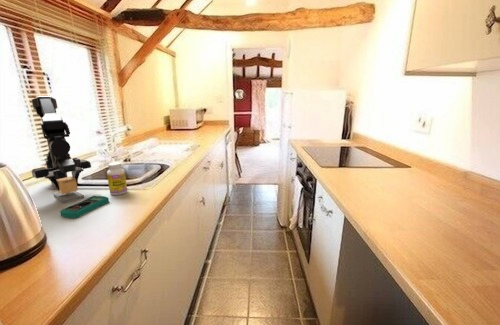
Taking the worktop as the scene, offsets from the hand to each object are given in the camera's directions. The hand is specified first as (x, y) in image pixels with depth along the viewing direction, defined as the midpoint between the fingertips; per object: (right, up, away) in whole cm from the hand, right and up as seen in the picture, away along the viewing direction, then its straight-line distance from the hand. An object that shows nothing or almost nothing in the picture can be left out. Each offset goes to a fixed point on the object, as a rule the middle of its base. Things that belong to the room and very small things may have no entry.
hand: (67, 188), depth 104 cm
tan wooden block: (0, -1, 0) cm, 1 cm away
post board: (0, -3, +1) cm, 4 cm away
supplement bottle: (+19, -2, +4) cm, 20 cm away
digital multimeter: (+15, -7, -11) cm, 20 cm away
